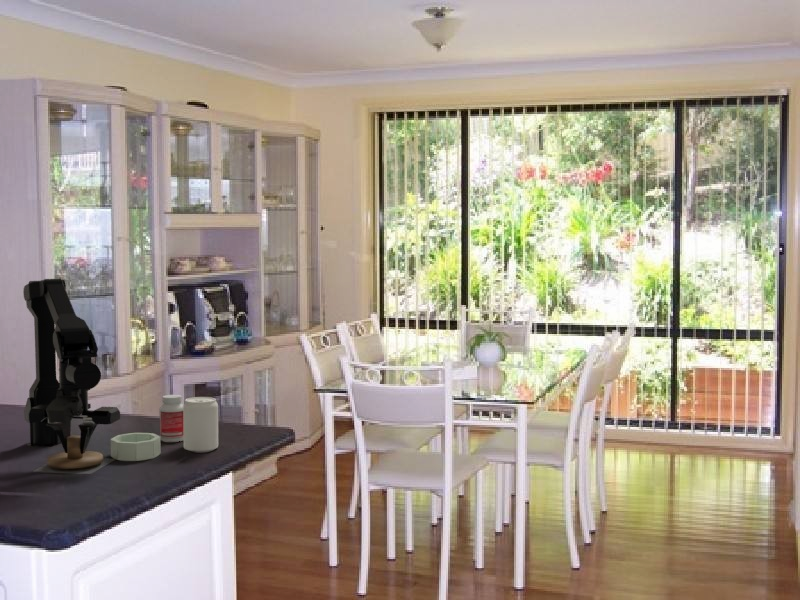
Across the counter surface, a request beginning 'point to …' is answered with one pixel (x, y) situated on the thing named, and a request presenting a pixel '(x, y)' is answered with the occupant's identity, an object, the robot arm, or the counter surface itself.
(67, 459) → the lid
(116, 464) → the counter surface
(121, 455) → the bowl
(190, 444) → the beverage can
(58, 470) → the mat
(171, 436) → the pill bottle
